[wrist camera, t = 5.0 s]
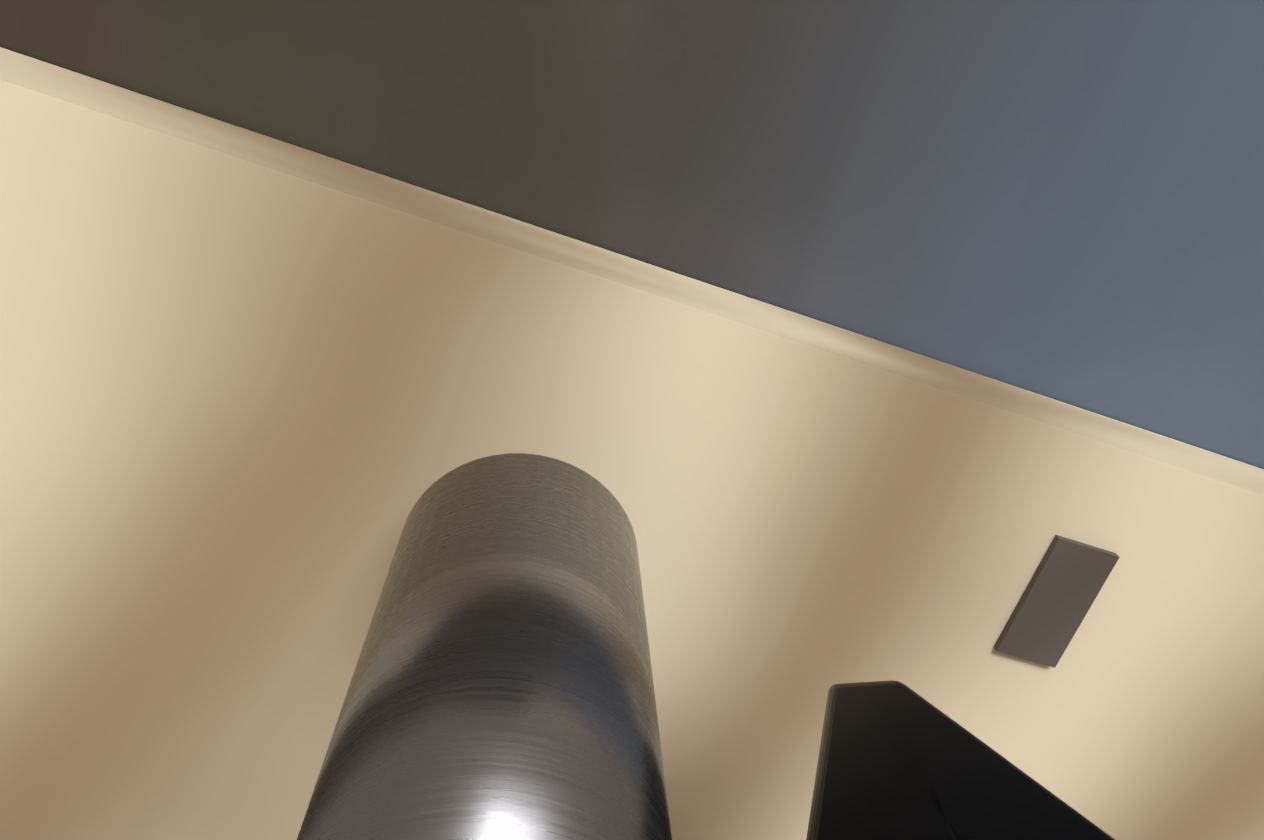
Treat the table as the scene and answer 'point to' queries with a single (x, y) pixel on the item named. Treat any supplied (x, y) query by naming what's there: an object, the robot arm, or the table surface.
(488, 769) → the grey metal part
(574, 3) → the table surface
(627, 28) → the table surface
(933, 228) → the table surface
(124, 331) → the base plate
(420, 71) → the table surface
